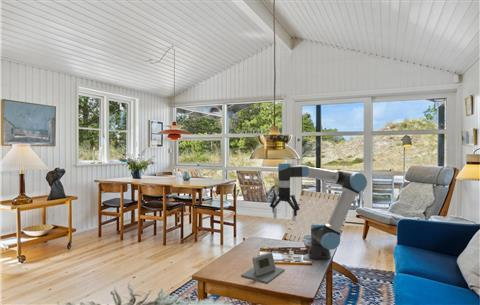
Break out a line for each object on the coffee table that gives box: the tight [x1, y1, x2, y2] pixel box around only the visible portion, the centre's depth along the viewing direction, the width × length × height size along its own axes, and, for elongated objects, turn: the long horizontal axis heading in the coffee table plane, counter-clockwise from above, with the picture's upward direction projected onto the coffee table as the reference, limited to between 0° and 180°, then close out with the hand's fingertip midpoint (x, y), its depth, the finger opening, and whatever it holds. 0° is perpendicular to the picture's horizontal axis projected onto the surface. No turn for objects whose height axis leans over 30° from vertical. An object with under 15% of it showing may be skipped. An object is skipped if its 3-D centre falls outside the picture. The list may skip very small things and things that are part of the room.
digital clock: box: [251, 251, 277, 276], centre depth 200 cm, size 16×9×11 cm, turn 117°
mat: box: [240, 266, 286, 284], centre depth 200 cm, size 22×18×1 cm
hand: (284, 219), depth 210 cm, fingers open, 13 cm apart
